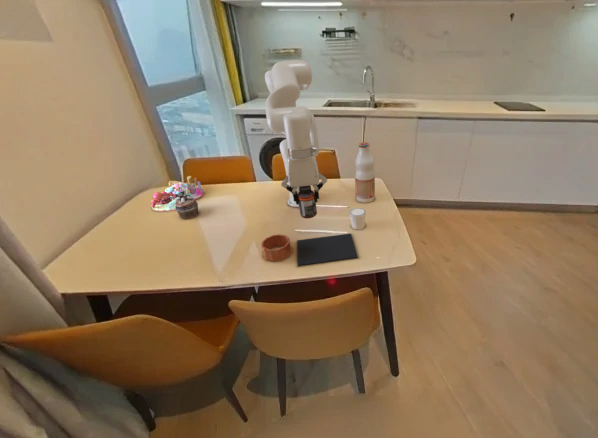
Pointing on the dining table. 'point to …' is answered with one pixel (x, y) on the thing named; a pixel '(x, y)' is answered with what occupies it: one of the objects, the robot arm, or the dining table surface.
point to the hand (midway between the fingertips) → (306, 201)
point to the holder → (276, 253)
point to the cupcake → (186, 206)
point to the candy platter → (175, 194)
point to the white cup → (357, 218)
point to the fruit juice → (364, 174)
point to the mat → (325, 249)
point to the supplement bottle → (307, 202)
